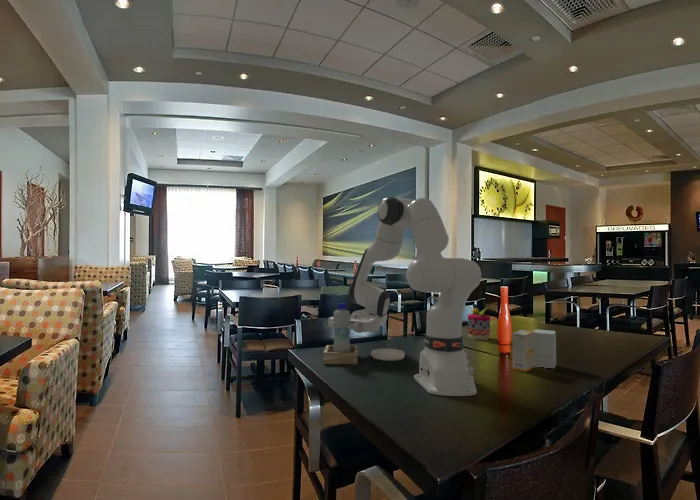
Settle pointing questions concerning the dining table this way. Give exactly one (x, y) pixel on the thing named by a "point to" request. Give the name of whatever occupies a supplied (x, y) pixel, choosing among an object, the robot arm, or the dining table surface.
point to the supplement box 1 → (523, 350)
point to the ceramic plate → (388, 354)
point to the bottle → (341, 329)
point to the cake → (478, 325)
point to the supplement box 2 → (545, 348)
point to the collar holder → (340, 355)
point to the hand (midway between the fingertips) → (340, 326)
